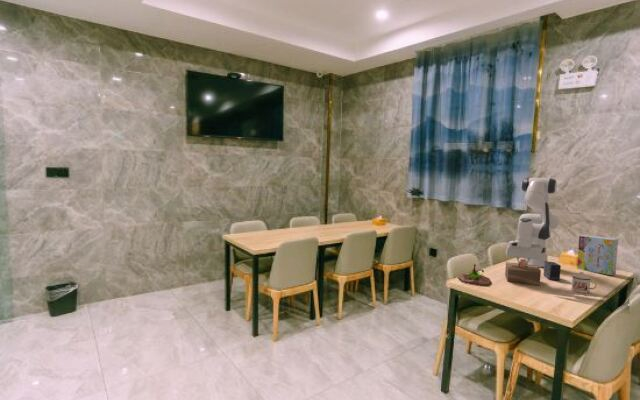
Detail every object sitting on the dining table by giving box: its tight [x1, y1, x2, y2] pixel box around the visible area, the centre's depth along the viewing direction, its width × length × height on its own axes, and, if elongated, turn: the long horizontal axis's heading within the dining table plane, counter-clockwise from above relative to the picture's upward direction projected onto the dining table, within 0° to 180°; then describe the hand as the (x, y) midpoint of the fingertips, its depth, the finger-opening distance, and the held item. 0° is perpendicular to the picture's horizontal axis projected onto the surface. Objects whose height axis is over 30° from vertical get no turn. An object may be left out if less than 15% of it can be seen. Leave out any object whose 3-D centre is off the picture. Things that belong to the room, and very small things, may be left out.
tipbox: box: [504, 261, 542, 287], centre depth 232 cm, size 14×18×10 cm
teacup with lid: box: [571, 271, 598, 294], centre depth 212 cm, size 12×9×12 cm
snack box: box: [576, 234, 619, 276], centre depth 260 cm, size 22×9×26 cm, turn 34°
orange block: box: [519, 258, 526, 268], centre depth 231 cm, size 5×2×5 cm, turn 158°
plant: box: [457, 263, 492, 287], centre depth 229 cm, size 20×20×11 cm
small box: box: [543, 260, 562, 281], centre depth 240 cm, size 11×6×10 cm, turn 169°
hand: (522, 264), depth 231 cm, fingers closed on orange block, 2 cm apart
